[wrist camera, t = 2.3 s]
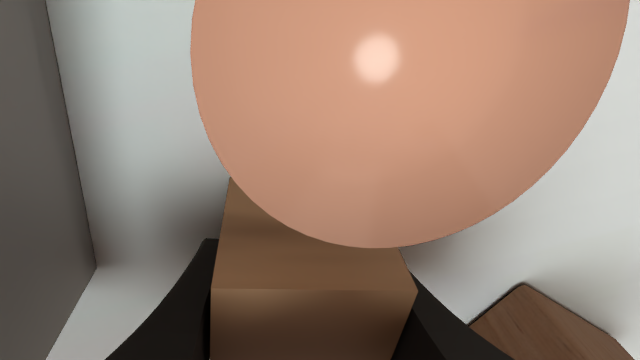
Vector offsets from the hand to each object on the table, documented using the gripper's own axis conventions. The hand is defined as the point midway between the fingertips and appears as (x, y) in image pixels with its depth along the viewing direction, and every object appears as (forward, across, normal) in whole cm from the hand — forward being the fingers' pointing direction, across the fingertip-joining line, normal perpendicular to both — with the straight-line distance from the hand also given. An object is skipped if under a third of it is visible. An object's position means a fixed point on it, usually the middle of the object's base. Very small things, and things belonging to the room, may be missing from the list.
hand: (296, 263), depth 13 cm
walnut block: (+1, 0, 0) cm, 1 cm away
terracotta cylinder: (+2, 0, -8) cm, 8 cm away
